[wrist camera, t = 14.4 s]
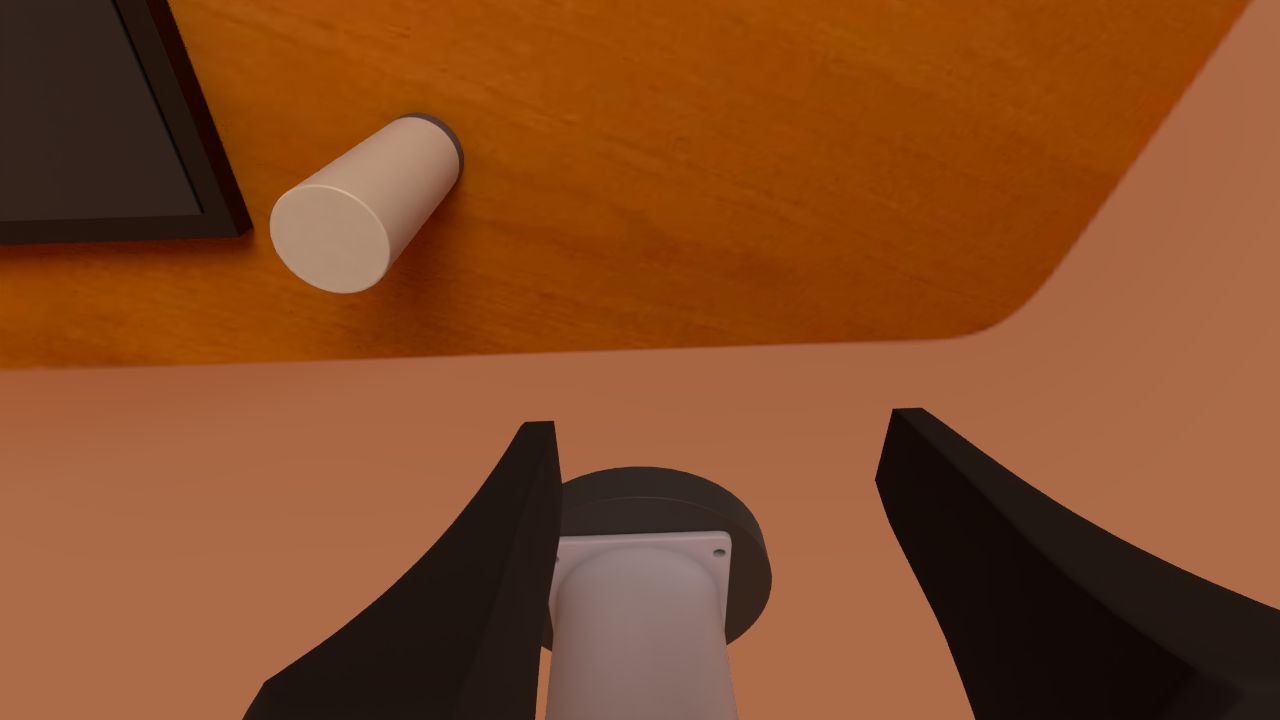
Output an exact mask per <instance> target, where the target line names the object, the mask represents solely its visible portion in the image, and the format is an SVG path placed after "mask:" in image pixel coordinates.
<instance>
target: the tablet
mask: <svg viewBox="0 0 1280 720" xmlns="http://www.w3.org/2000/svg"><path fill="white" fill-rule="evenodd" d="M252 228H253V225H252V222H251V220H250V217H249V214H248V212H247V209H246V207H245V204H244V201H243V199H242V196H241V194H240V191H239V188H238V186H237V183H236V181H235V178H234V175H233V173H232V170H231V167H230V165H229V162H228V160H227V157H226V154H225V152H224V149H223V147H222V144H221V141H220V139H219V136H218V133H217V131H216V128H215V126H214V123H213V120H212V118H211V115H210V113H209V110H208V107H207V105H206V102H205V99H204V97H203V94H202V92H201V89H200V86H199V84H198V81H197V79H196V76H195V73H194V71H193V68H192V66H191V63H190V60H189V58H188V55H187V52H186V50H185V47H184V45H183V42H182V39H181V37H180V34H179V32H178V29H177V26H176V24H175V21H174V18H173V16H172V13H171V11H170V8H169V5H168V3H167V0H0V245H18V244H49V243H79V242H110V241H141V240H172V239H202V238H233V237H240V236H242V235H243V234H245V233H246V232H248V231H249V230H250V229H252Z"/></svg>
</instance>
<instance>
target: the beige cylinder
mask: <svg viewBox="0 0 1280 720" xmlns="http://www.w3.org/2000/svg"><path fill="white" fill-rule="evenodd" d="M463 160H464V159H463V152H462V148H461V145H460V143H459V141H458V139H457V137H456V135H455V134H454V133H453V131H452V130H451V129H450V128H449V127H448V126H447V125H446V124H444V123H443V122H442V121H440V120H438V119H437V118H435V117H432V116H430V115H427V114H421V113H411V114H406V115H403V116H401V117H399V118H397V119H396V120H394V121H393V122H391V123H390V124H388V125H387V126H385V127H384V128H382V129H381V130H379V131H378V132H376V133H375V134H373V135H372V136H370V137H369V138H367V139H366V140H364V141H363V142H361V143H360V144H358V145H357V146H355V147H354V148H352V149H351V150H349V151H348V152H346V153H345V154H343V155H342V156H340V157H339V158H337V159H336V160H334V161H333V162H331V163H330V164H328V165H327V166H325V167H324V168H322V169H321V170H319V171H318V172H316V173H315V174H313V175H312V176H310V177H309V178H307V179H306V180H304V181H303V182H301V183H300V184H298V185H297V186H295V187H294V188H292V189H291V190H289V191H288V192H286V193H285V194H284V195H283V196H281V197H280V199H279V200H278V201H277V202H276V204H275V206H274V208H273V210H272V213H271V218H270V234H271V239H272V242H273V245H274V247H275V249H276V251H277V253H278V255H279V257H280V258H281V260H282V261H283V262H284V264H285V265H286V266H287V267H288V268H289V269H290V270H291V271H292V272H293V273H294V274H295V275H296V276H298V277H299V278H301V279H302V280H303V281H305V282H307V283H308V284H310V285H312V286H314V287H316V288H319V289H322V290H325V291H329V292H333V293H346V294H347V293H356V292H360V291H363V290H366V289H368V288H370V287H372V286H374V285H375V284H376V283H377V282H379V281H380V279H381V278H382V277H383V276H384V275H385V273H386V272H387V271H388V270H389V268H390V267H391V266H392V264H393V263H394V262H395V261H396V259H397V258H398V257H399V255H400V254H401V253H402V251H403V250H404V249H405V248H406V246H407V245H408V244H409V242H410V241H411V240H412V239H413V237H414V236H415V235H416V233H417V232H418V231H419V229H420V228H421V227H422V226H423V224H424V223H425V222H426V220H427V219H428V218H429V217H430V215H431V214H432V213H433V211H434V210H435V209H436V207H437V206H438V205H439V204H440V202H441V201H442V200H443V198H444V197H445V196H446V195H447V193H448V192H449V191H450V189H451V188H452V187H453V185H454V184H455V183H456V182H457V180H458V179H459V177H460V175H461V172H462V169H463Z"/></svg>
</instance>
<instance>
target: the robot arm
mask: <svg viewBox="0 0 1280 720" xmlns="http://www.w3.org/2000/svg"><path fill="white" fill-rule="evenodd" d="M875 481H876V485H877V488H878V491H879V494H880V497H881V500H882V503H883V506H884V509H885V512H886V515H887V518H888V520H889V523H890V525H891V527H892V529H893V531H894V534H895V535H896V538H897V540H898V542H899V544H900V546H901V547H902V550H903V552H904V554H905V556H906V558H907V560H908V562H909V564H910V566H911V568H912V570H913V572H914V574H915V576H916V578H917V580H918V582H919V584H920V586H921V588H922V590H923V592H924V594H925V595H926V598H927V600H928V602H929V603H930V605H931V608H932V610H933V612H934V614H935V616H936V618H937V620H938V622H939V625H940V627H941V629H942V631H943V633H944V636H945V638H946V640H947V643H948V646H949V648H950V651H951V654H952V656H953V659H954V662H955V664H956V667H957V669H958V672H959V675H960V677H961V680H962V683H963V685H964V688H965V691H966V694H967V697H968V700H969V703H970V705H971V708H972V711H973V714H974V717H975V720H1280V610H1278V609H1276V608H1273V607H1270V606H1268V605H1265V604H1263V603H1260V602H1258V601H1255V600H1253V599H1250V598H1248V597H1246V596H1243V595H1241V594H1238V593H1236V592H1234V591H1231V590H1229V589H1226V588H1224V587H1222V586H1219V585H1217V584H1214V583H1212V582H1210V581H1207V580H1205V579H1203V578H1201V577H1199V576H1196V575H1194V574H1192V573H1190V572H1188V571H1185V570H1183V569H1181V568H1179V567H1177V566H1175V565H1173V564H1170V563H1168V562H1166V561H1164V560H1162V559H1160V558H1158V557H1156V556H1154V555H1152V554H1150V553H1148V552H1146V551H1144V550H1142V549H1140V548H1137V547H1136V546H1134V545H1132V544H1130V543H1128V542H1126V541H1124V540H1122V539H1120V538H1118V537H1116V536H1115V535H1113V534H1111V533H1109V532H1107V531H1106V530H1104V529H1102V528H1100V527H1098V526H1097V525H1095V524H1093V523H1092V522H1090V521H1088V520H1086V519H1084V518H1083V517H1081V516H1079V515H1077V514H1076V513H1074V512H1072V511H1071V510H1069V509H1067V508H1066V507H1064V506H1062V505H1061V504H1059V503H1058V502H1056V501H1054V500H1053V499H1051V498H1050V497H1048V496H1047V495H1045V494H1044V493H1042V492H1041V491H1039V490H1037V489H1036V488H1034V487H1033V486H1031V485H1030V484H1028V483H1027V482H1025V481H1024V480H1022V479H1021V478H1019V477H1018V476H1016V475H1015V474H1013V473H1012V472H1010V471H1009V470H1008V469H1006V468H1005V467H1003V466H1002V465H1000V464H999V463H998V462H996V461H995V460H994V459H992V458H991V457H989V456H988V455H987V454H985V453H984V452H982V451H981V450H980V449H978V448H977V447H976V446H974V445H973V444H972V443H970V442H969V441H967V440H966V439H965V438H963V437H962V436H961V435H959V434H958V433H956V432H955V431H954V430H953V429H951V428H950V427H948V426H947V425H946V424H944V423H943V422H942V421H940V420H939V419H937V418H936V417H934V416H933V415H932V414H930V413H929V412H927V411H926V410H924V409H923V408H901V409H893V410H892V414H891V418H890V422H889V426H888V430H887V434H886V438H885V442H884V446H883V450H882V454H881V458H880V462H879V466H878V470H877V474H876V478H875ZM562 499H563V488H562V481H561V473H560V465H559V457H558V449H557V442H556V433H555V425H554V421H537V422H525V423H524V424H523V425H522V426H521V427H520V429H519V430H518V432H517V434H516V435H515V437H514V439H513V440H512V442H511V444H510V445H509V447H508V448H507V450H506V452H505V453H504V455H503V456H502V458H501V459H500V461H499V462H498V464H497V465H496V467H495V468H494V470H493V471H492V472H491V474H490V475H489V477H488V478H487V479H486V481H485V482H484V484H483V485H482V486H481V488H480V490H479V491H478V492H477V493H476V495H475V496H474V498H473V499H472V500H471V501H470V502H469V504H468V505H467V506H466V507H465V509H464V510H463V511H462V512H461V514H460V515H459V516H458V517H457V519H456V520H455V521H454V522H453V524H452V525H451V526H450V527H449V528H448V529H447V530H446V532H445V533H444V534H443V535H442V536H441V537H440V538H439V539H438V541H437V542H436V543H435V544H434V545H433V546H432V547H431V548H430V549H429V550H428V551H427V552H426V553H425V555H423V556H422V558H420V559H419V561H418V562H417V563H415V564H414V565H413V566H412V567H411V568H410V569H409V570H408V571H407V572H406V573H405V574H404V575H403V576H402V577H401V578H400V579H399V580H398V581H397V582H396V583H395V584H394V585H393V586H391V587H390V588H389V589H388V590H387V591H386V592H385V593H384V594H382V595H381V596H380V597H379V598H378V599H377V600H376V601H374V602H373V603H372V604H371V605H369V606H368V607H367V608H366V609H364V610H363V611H362V612H361V613H360V614H358V615H357V616H356V617H355V618H353V619H352V620H351V621H350V622H349V623H347V624H346V625H345V626H344V627H342V628H341V629H340V630H338V631H337V632H336V633H335V634H333V635H332V636H330V637H329V638H328V639H326V640H325V641H324V642H322V643H321V644H320V645H318V646H317V647H315V648H314V649H312V650H311V651H310V652H308V653H307V654H305V655H304V656H302V657H301V658H299V659H298V660H296V661H295V662H294V663H292V664H291V665H289V666H288V667H286V668H285V669H283V670H282V671H280V672H279V673H278V674H276V675H275V676H273V677H271V678H270V679H268V680H267V681H265V682H264V684H263V686H262V688H261V689H260V691H259V693H258V694H257V696H256V697H255V699H254V700H253V702H252V704H251V705H250V707H249V708H248V710H247V712H246V714H245V715H244V717H243V719H242V720H535V714H536V699H537V687H538V675H539V663H540V652H541V645H542V637H543V630H544V625H545V619H546V613H547V608H548V603H549V609H550V615H551V621H552V627H553V633H554V636H553V646H552V656H551V666H550V676H549V686H548V696H547V706H546V716H545V720H738V715H737V710H736V703H735V696H734V690H733V683H732V677H731V672H730V664H729V658H728V652H727V645H726V639H725V633H724V629H725V617H726V605H727V594H728V582H729V570H730V558H731V547H732V543H731V538H730V535H729V534H728V533H727V532H725V531H696V532H670V533H643V534H617V535H590V536H564V537H560V532H561V517H562ZM718 549H721V550H718Z"/></svg>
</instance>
